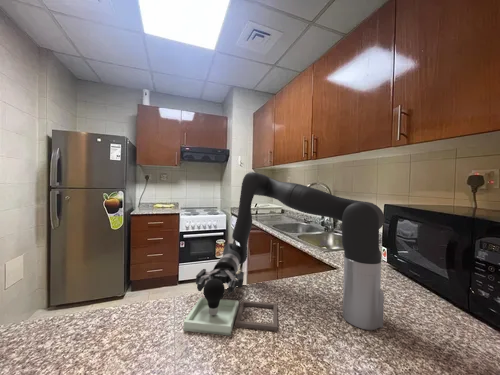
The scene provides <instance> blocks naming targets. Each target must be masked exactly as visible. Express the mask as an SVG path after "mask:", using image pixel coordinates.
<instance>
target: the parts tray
mask: <svg viewBox="0 0 500 375" xmlns="http://www.w3.org/2000/svg"><path fill="white" fill-rule="evenodd" d="M239 301H240V300H237V299H236V300H235V299H223V298H221V300H220V302H219V306H218V313H217V314H216V315H214V316H212V315H210V314H209V306H208V301H207V299H206V298H205V297H203V296H201V297H199V299H198V300H197V301H196V303H195V304H194V306H193V307H192V309H191V310H190V312H189V313H188V314H187V316H186V318H185V319H184V321H183V331H184V332H193V333H203V334H210V335H211V334H213V335H223V336H232V331H233V328H234V326H235V321H236V318H237V314H238V311H239V307H240V304H239Z"/></svg>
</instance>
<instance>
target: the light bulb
mask: <svg viewBox="0 0 500 375" xmlns="http://www.w3.org/2000/svg"><path fill="white" fill-rule="evenodd" d="M225 289H226V287H225V283H223V282H222V281H221V280H219V279H211V280H209V281H208V282H207V283H206V284H205V286H204V288H203V289H202V292H203V296H204V298H206V299H207V301H208V306H209V314H210V315H212V316H214V315H216V314H217V313H218V306H219V302H220V300H221V299H223V297H224V295H225V292H226V290H225Z"/></svg>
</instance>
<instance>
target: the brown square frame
mask: <svg viewBox="0 0 500 375" xmlns="http://www.w3.org/2000/svg"><path fill="white" fill-rule="evenodd" d="M244 307H252V308H253V307H255V308H263V309H264V308H265V309H273V317H272V318H273V323H266V322H265V323H264V322H256V321H247V320H245V321H243V320H241V319H242V315H243V312H244ZM234 327H237V328H246V329H252V330H253V329H256V330H262V331H263V330H264V331H271V332H272V331H274V332H278V304H277V303H273V302H264V301H252V300H251V301H249V300H241V301H240V304H239V308H238V311H237V315H236V318H235V322H234Z"/></svg>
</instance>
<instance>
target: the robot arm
mask: <svg viewBox="0 0 500 375" xmlns="http://www.w3.org/2000/svg"><path fill="white" fill-rule="evenodd" d="M254 196H260V197H261V196H262V197H266V198H271V199H274V200H277V201H279V202H280V203H282V204H283V205H284V206H286V207H288V208H291V209H293V210H295V211H298V212H301V213H303V214H308V215H313V216H319V217H324V218H325V217H326V218H331V219H334V220H337V221H340V222H341V244H342V249H343V252H344V254H343V287H342V288H343V291H342V292H343V294H342V317H343V318H344V320H345V321H346V322H347V323H349V324H351V325H352V326H354V327H356V328H358V329H359V328H360V329H363V330H367V331H374V330H376V329H379V328H381V329H383V328H384V308H385V306H384V305H385V301H384V300H385V292H384V290H382V289H381V284H382V283H381V281H382V280H381V279H382V277H381V276H382V251H381V250H380V229H382V228H383V226H384V224H385V219H386V218H385V214H384V211H383V210H382V209H381V208H380V207H379V206H378V205H377V204H375V203H373V202H370V201H362V200H355V199H351V198H350V199H349V198H346V197H341V196H338V195H334V194H331V193H329V192H326V191H323V190H320V189H318V188H313V187H312V186H308V185H303V184H300V183H295V182H286V181H280V180H277V179H274V178H272V177H269V176H267V175H266V174H263V173H258V172H255V171H250V172H247V173H246V174H245V175H244V176H243V179H242V182H241V188H240V196H239V204H238V211H237V212H238V213H237V217H236V219H235V220H236V221H235V225H234V228H233V232H232V235H231V237H232V239H233V240H234V241H236V242H237V243H239V244H240V245H238V244H235V243H232V242H231V243H230V242H229V243H227V244H225V246H224V249H223V252H222V256H221V257H220V258H219V260H218V261H217V262H216V264H215V265H214V267H213V269H211V270H210V271H207V269H206V268H203V269H201V270H200V271H199V272H198V273H197V274H196V276H195V284H196V285H197V286H196V287H197V288H196V289H197V291H198V292H202V291H203V290H204V286H205V284H206V283H207V282H208V281H209V280H211V279H219V280H221V281H222V282H223V284H224V285H226V286H227V287H228V289H227V295H231V294H232V293H234V292H235V290H236V288H239V289H242V288H243V285H244V279H245V278H244V277H245V276H244V274H245V273H244V272H243V271H240V272H239V273H237V272H238V271H239V266H240V264H241V265H242V264H244V263H245V262H246V261H247V258H248V243H249V237H250V234H251V230H252V226H253V215H252V214H253V213H252V203H253V199H254Z"/></svg>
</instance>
